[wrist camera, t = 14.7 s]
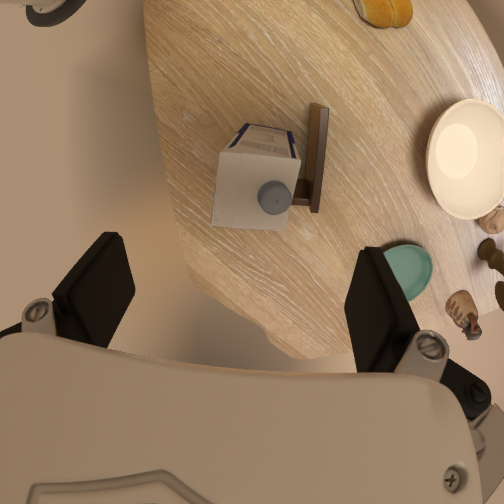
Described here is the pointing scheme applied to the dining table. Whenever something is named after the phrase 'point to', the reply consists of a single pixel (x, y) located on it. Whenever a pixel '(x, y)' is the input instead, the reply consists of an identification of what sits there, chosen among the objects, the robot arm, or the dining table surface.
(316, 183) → the shelf
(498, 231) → the garlic bulb
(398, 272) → the saucer
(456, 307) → the figurine
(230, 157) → the milk carton
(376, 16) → the bread roll
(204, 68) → the dining table surface
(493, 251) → the kendama
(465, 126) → the bowl
